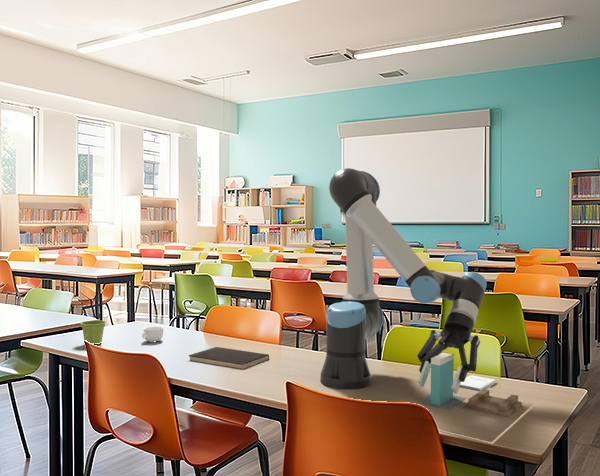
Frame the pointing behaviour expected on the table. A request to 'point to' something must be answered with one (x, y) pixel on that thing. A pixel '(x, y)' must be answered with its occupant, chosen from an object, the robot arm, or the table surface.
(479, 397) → the rack
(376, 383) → the table surface
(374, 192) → the robot arm
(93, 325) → the plant pot
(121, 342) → the table surface
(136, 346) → the table surface
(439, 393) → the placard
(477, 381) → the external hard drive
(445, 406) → the mat
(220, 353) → the hardcover book
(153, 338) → the teacup
